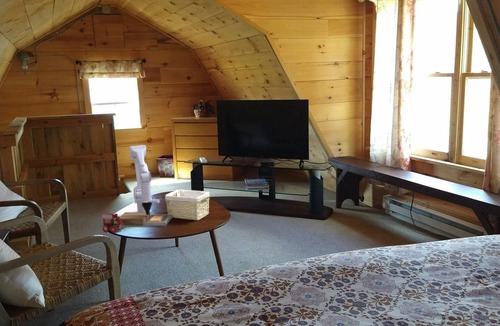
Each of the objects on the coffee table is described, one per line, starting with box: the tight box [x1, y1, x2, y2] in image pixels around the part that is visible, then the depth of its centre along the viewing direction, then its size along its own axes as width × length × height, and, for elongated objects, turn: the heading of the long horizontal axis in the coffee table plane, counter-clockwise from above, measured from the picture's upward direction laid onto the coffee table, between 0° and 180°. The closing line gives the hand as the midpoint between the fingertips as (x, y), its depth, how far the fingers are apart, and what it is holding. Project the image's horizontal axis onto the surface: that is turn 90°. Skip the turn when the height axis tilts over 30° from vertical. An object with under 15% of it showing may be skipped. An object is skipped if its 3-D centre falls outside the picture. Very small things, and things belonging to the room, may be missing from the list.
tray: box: [143, 213, 173, 227], centre depth 260 cm, size 15×13×2 cm
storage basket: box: [164, 189, 211, 221], centre depth 270 cm, size 24×16×15 cm
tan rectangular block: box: [149, 216, 164, 222], centre depth 260 cm, size 9×6×2 cm, turn 175°
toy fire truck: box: [101, 212, 124, 234], centre depth 247 cm, size 7×12×10 cm, turn 75°
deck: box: [119, 211, 151, 227], centre depth 262 cm, size 14×16×4 cm
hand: (148, 214), depth 260 cm, fingers closed
